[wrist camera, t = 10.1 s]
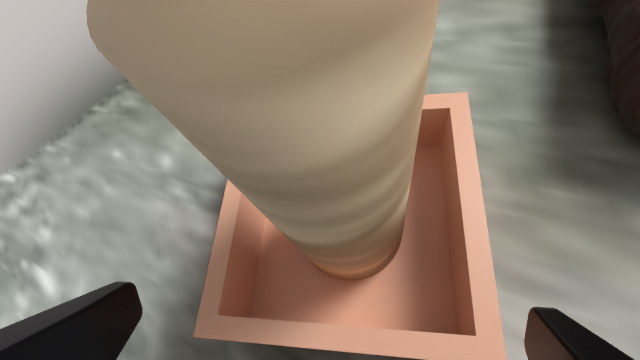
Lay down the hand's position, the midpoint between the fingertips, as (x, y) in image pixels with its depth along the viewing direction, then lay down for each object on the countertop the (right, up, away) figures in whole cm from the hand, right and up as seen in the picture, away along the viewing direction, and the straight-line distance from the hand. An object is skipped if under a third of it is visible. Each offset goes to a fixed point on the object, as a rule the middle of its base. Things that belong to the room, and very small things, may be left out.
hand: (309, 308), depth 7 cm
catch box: (+2, 0, +9) cm, 10 cm away
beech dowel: (+2, +1, +9) cm, 9 cm away
